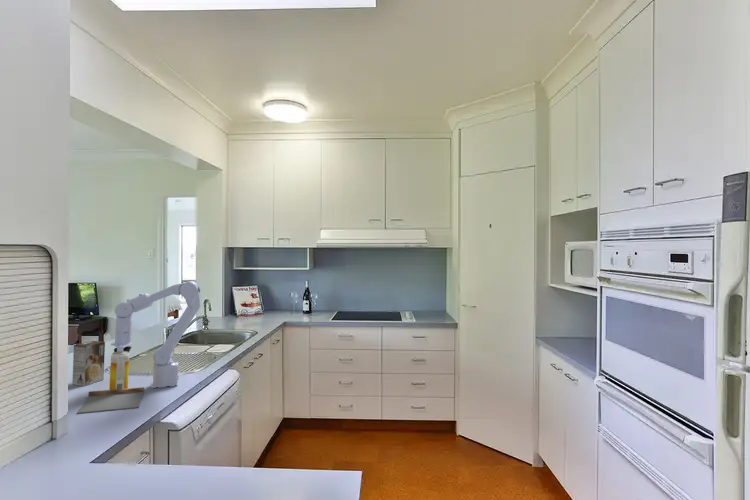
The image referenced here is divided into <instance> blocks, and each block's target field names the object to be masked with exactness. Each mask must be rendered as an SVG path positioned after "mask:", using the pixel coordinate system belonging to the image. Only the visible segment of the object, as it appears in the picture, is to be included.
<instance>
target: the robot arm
mask: <svg viewBox="0 0 750 500" xmlns="http://www.w3.org/2000/svg"><path fill="white" fill-rule="evenodd" d="M172 295H175V296H180V295H181V296H182V297H183V298H184V300H185V302H186V308H185V310H184V311H183V312H182V314H181V316H180V318H179V319H178V321H177V322H176V324H175V326H174V327H173V328H172V330H171V332H170V333H169V335H168V337H167V338H166V339H165V341H164V342H163V344H162V345H161V346H159V347H158V349H157V350H156V351H155V352H154V353H153V355H152V359H153V370H152V374H153V375H152V381H151V385H150V388H151V389H155V388H156V387H158V388H166V387H165V386H170V387H176V386H175V385H177V386H178V381H179V377H180V376H179V374H178V373H179V362H177V361H176V362H174V360H173V358H172V357H173V356H174V354H175V348H176V346H177V345H178V343H179V342H180V340H181V338H182V336H183V335H184V334H185V332H186V330H187V329H188V327H189V326H190V324H191V323H192V321H193V319H194V318H195V316H196V314H197V312H198V311H199V309H200V308H201V306H202V300H201V297H202V296H201V288H200V286H199V284H198V283H197V282H196V281H194V280H187V281H186V282H181V283H176V284H172V285H171V286H168V287H166V288H164V289H162V290H159V291H156V292H154V293H152V294H150V293H143V292H142V293H140V294H138V296H135V297H132V298H128V299H126V301H123V302H120V303H118V304H117V305H116V306H115V308H114V313H115V316H116V319H115V328H114V329H115V331H114V332H115V333H114V334H115V335H114V342H112V343H110V345H111V346H114V347H115V348H114V349H113V353H114V352H123V351H128V353H129V354H130V351H131V350H132V345H133V341H132V338H133V337H132V336H133V314H134V313H138V312H140V311H142V310H145V309H147V308H149V307H150V308H151V307H152V306H153V304H154V302H156V301H160V300H162V299H165V298H168V297H170V296H172ZM156 389H157V388H156Z"/></svg>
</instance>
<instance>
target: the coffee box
mask: <svg viewBox="0 0 750 500" xmlns="http://www.w3.org/2000/svg"><path fill="white" fill-rule="evenodd" d="M105 349H106V341H100V340H90V341H87V342H82V343H77V344H74V345H73V354H72V355H73V359H72V360H73V361H72V379H71V381H72V382H71V384H72V385H73V384H75V386H82V387H84V386H85V387H86V386H89V385H91V384H94V383H97V382H100V381H103V380H104V376H105V375H104V374H105V354H106V353H105Z"/></svg>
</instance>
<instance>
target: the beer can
mask: <svg viewBox="0 0 750 500" xmlns="http://www.w3.org/2000/svg"><path fill="white" fill-rule="evenodd" d="M129 370H130V352H129V353H128V351H123V352H114V351H113V352H112V354H111V356H110V371H109V373H110V374H109V389H108V390H115V389H128V388H129V373H130V371H129Z"/></svg>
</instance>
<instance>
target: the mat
mask: <svg viewBox="0 0 750 500" xmlns="http://www.w3.org/2000/svg"><path fill="white" fill-rule="evenodd" d="M144 393H145V391H144V392H135V393H123V394H111V395H99V396H88V395H87V397H86V399H85V401H84V402H83V403H82V404H81V406H80V407H79V409H78V411H77V412H76V415H79V414H80V415H81V414H90V413H99V412H111V411H119V410H121V411H122V410H131V409H132V410H133V409H139V408H140V404H141V402H142V399H143V396H144Z"/></svg>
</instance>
